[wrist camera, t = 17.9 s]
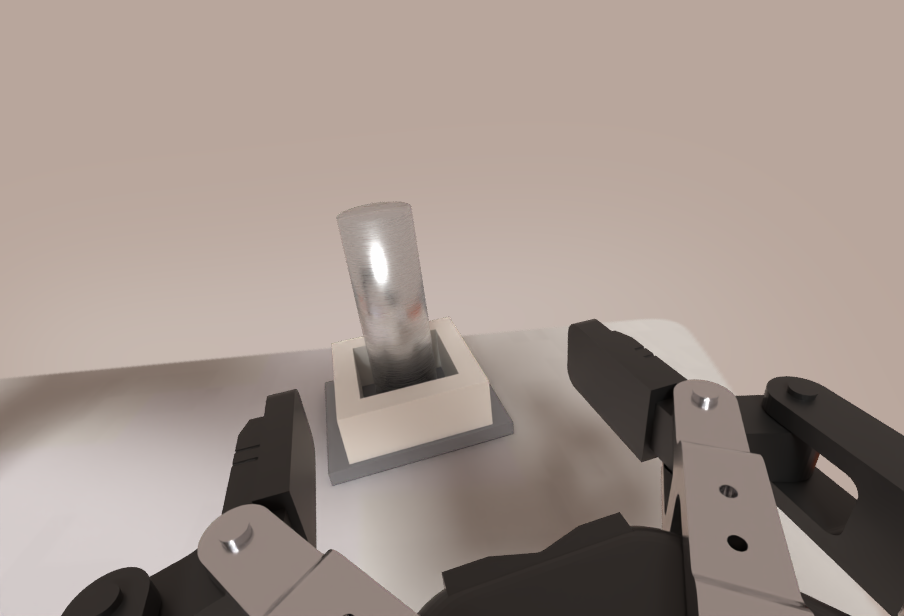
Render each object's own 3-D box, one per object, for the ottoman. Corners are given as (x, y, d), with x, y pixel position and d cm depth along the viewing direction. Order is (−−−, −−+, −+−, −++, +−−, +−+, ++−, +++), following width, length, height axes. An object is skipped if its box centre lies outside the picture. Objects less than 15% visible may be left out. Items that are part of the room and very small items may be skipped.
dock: (332, 485, 28) (314, 429, 26) (327, 392, 36) (314, 345, 34) (513, 433, 30) (510, 378, 28) (468, 357, 39) (463, 311, 37)
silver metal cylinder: (384, 428, 30) (338, 227, 24) (376, 391, 34) (334, 209, 28) (446, 411, 31) (418, 213, 25) (432, 377, 35) (404, 198, 29)
